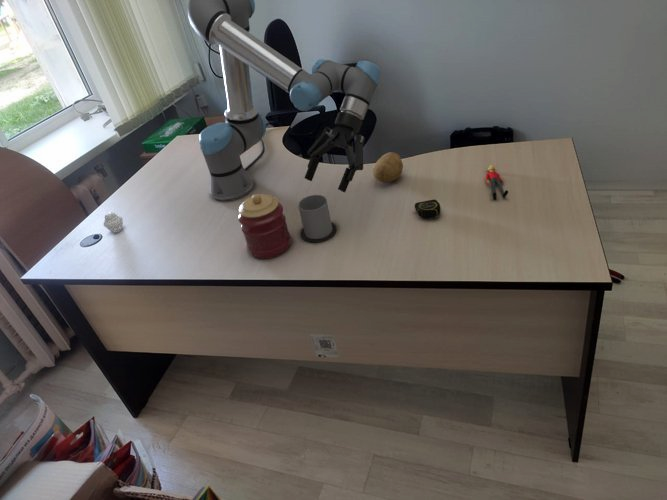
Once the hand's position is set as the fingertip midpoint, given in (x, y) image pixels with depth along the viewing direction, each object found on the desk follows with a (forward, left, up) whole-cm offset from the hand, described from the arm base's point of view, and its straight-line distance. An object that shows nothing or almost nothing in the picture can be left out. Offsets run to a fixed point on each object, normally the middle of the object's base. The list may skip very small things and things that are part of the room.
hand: (324, 185), depth 138 cm
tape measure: (+10, +27, -13) cm, 32 cm away
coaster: (+3, -5, -13) cm, 14 cm away
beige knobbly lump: (-32, -68, -13) cm, 76 cm away
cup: (+3, -5, -13) cm, 14 cm away
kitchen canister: (+3, -20, -13) cm, 24 cm away
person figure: (+5, +52, -13) cm, 54 cm away
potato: (-16, +25, -13) cm, 32 cm away
